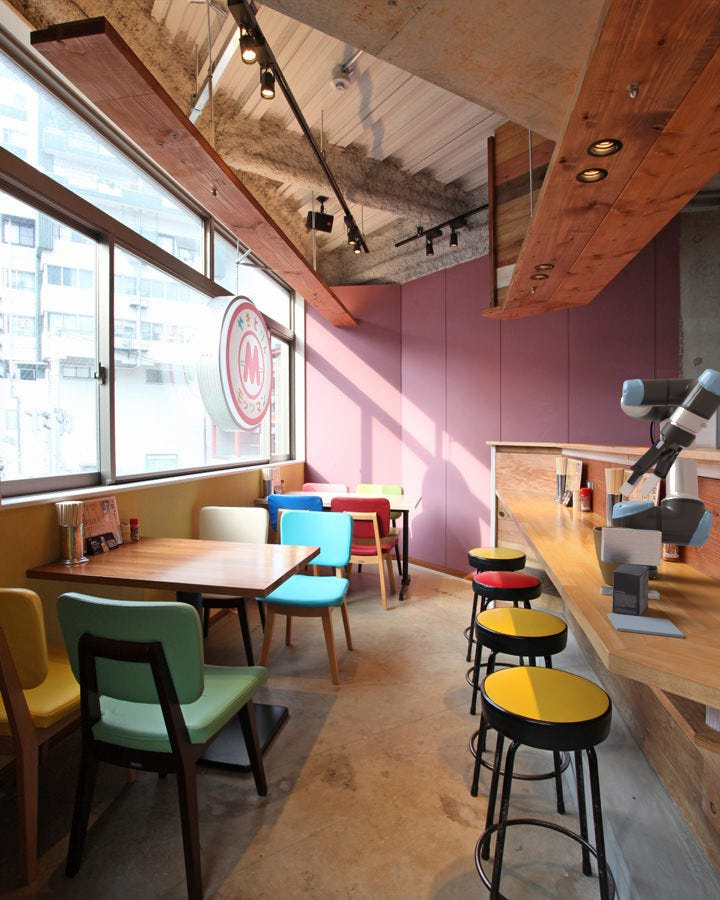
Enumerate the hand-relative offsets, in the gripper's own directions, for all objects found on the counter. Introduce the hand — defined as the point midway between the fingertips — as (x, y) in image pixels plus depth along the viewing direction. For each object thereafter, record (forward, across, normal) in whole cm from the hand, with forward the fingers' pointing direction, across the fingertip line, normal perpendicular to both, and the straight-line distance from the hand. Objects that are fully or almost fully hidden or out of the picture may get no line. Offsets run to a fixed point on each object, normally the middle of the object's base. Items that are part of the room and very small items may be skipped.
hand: (632, 494), depth 135 cm
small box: (+22, -11, -19) cm, 31 cm away
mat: (+19, -20, -24) cm, 37 cm away
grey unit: (+24, +2, -14) cm, 28 cm away
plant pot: (+26, +11, -9) cm, 30 cm away
